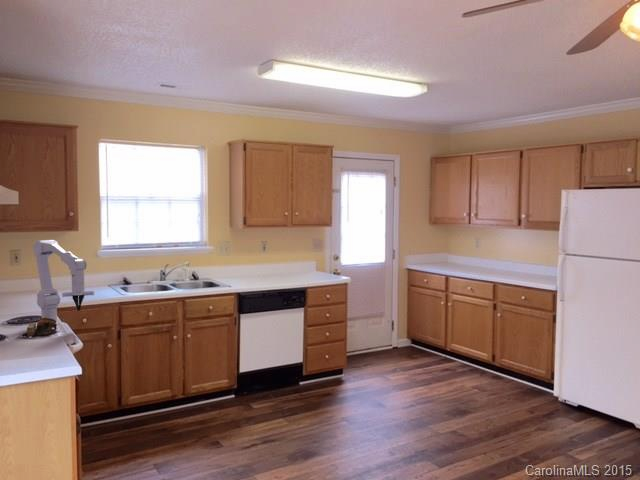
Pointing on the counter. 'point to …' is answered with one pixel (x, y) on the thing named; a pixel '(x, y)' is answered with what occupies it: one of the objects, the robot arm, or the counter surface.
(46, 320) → the pottery mug
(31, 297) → the counter surface
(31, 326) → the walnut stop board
